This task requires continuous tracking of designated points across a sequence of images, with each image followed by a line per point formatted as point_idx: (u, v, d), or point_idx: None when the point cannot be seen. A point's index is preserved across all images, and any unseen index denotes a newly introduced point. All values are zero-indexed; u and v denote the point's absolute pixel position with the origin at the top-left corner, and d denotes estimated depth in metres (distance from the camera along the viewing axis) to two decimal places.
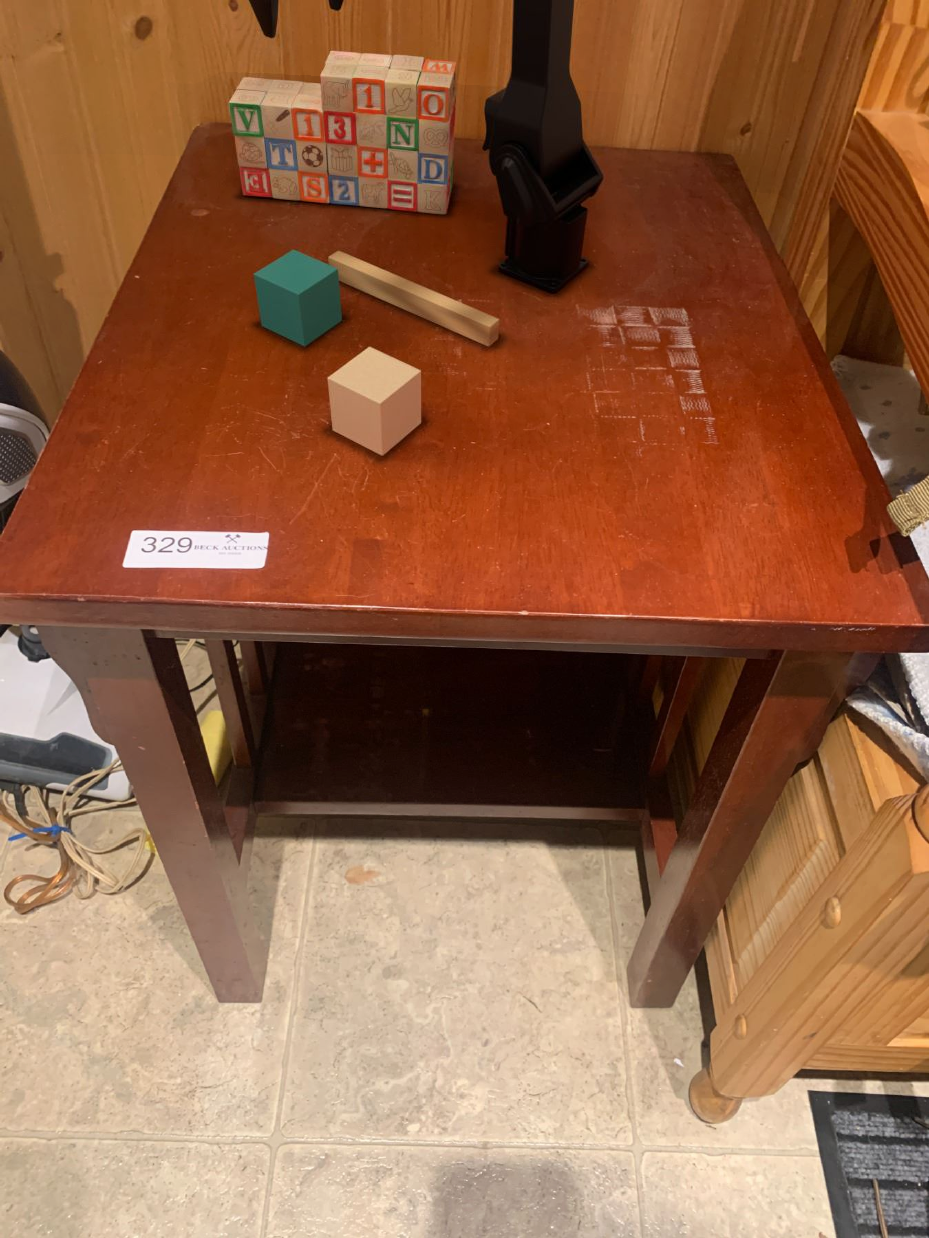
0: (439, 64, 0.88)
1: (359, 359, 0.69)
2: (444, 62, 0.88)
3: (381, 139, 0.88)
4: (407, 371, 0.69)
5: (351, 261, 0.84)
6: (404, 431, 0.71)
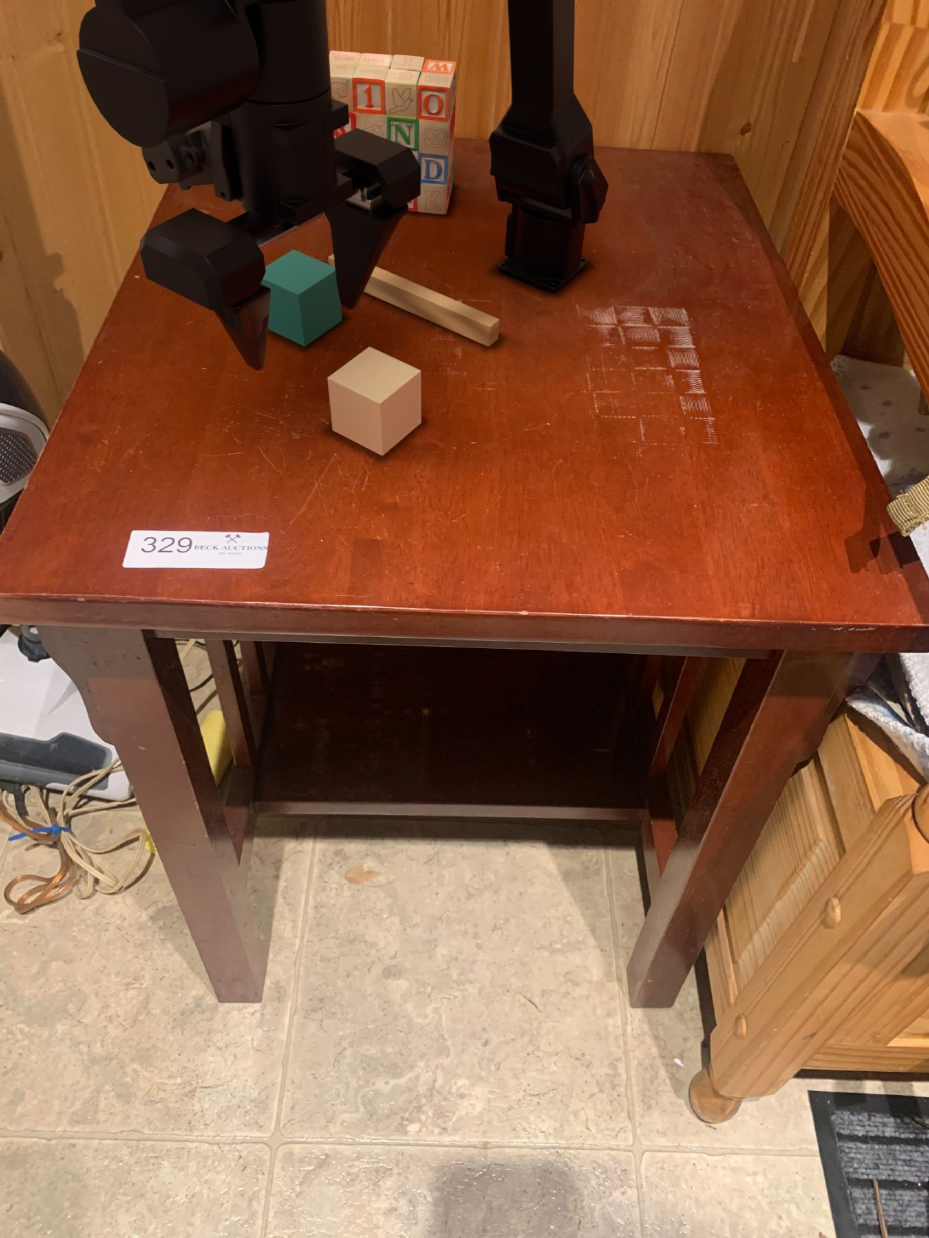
0: (439, 64, 0.88)
1: (359, 359, 0.69)
2: (444, 62, 0.88)
3: None
4: (407, 371, 0.69)
5: None
6: (404, 431, 0.71)
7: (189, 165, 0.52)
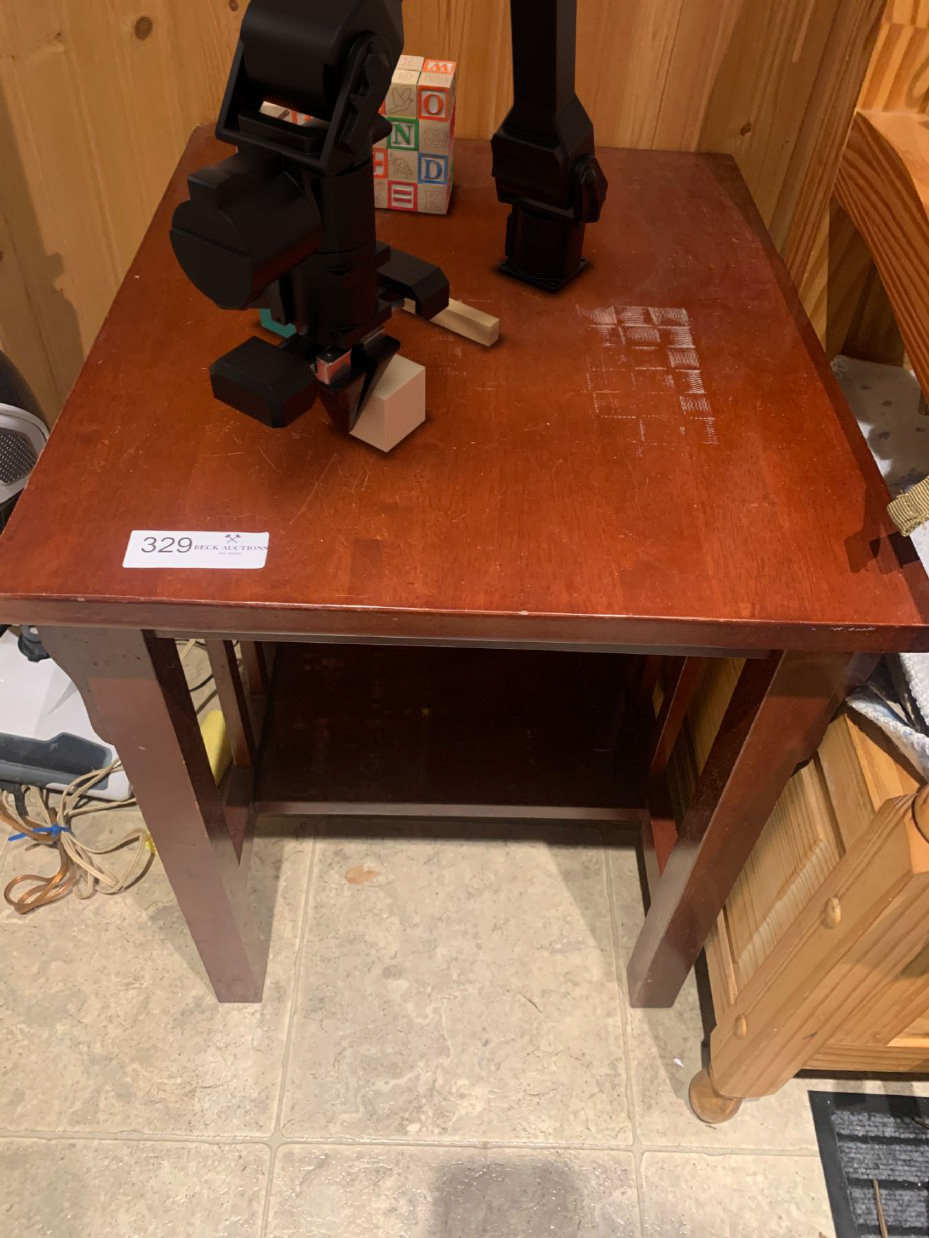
0: (439, 64, 0.88)
1: None
2: (444, 62, 0.88)
3: None
4: (411, 368, 0.69)
5: None
6: (408, 428, 0.71)
7: None
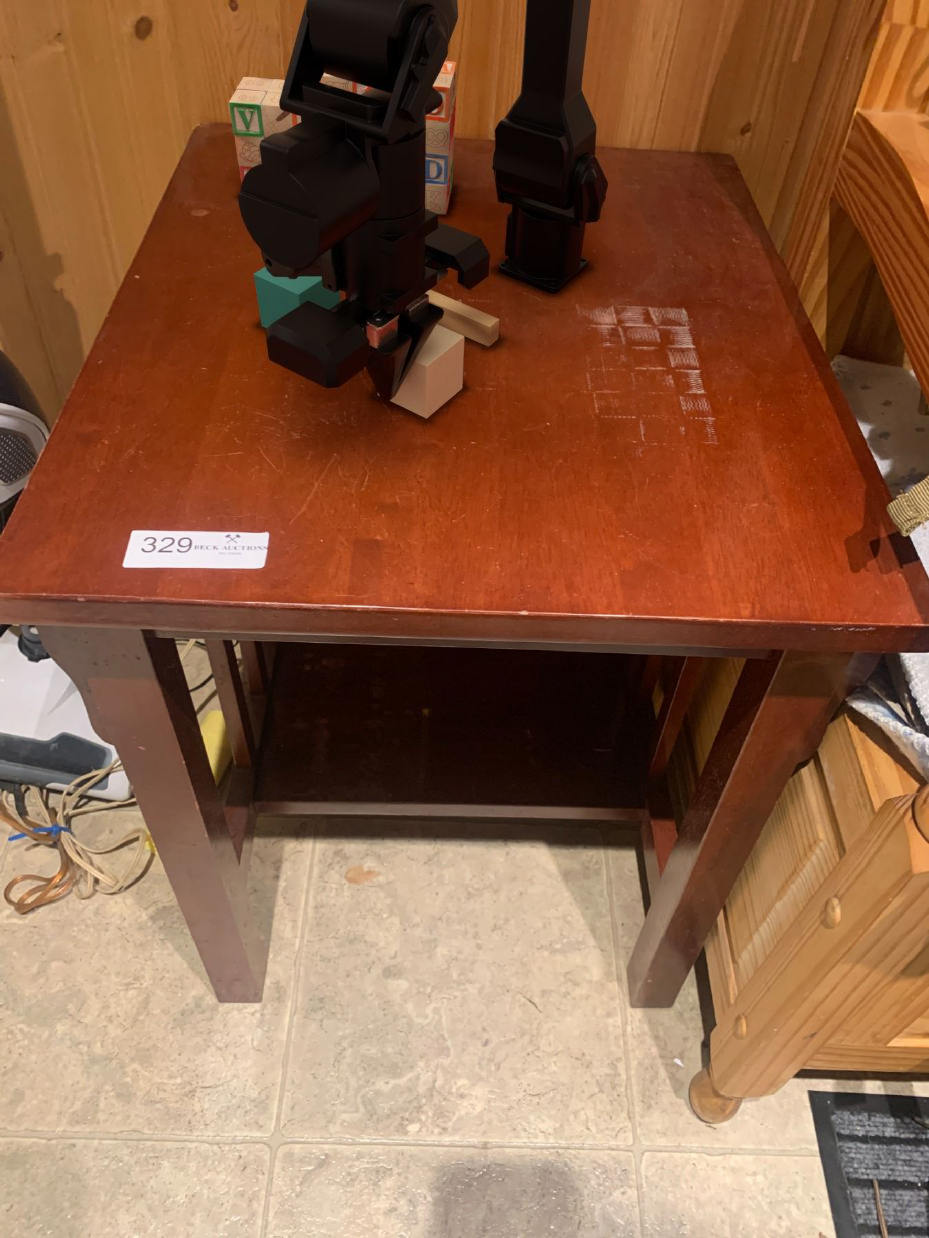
0: None
1: None
2: (444, 62, 0.88)
3: None
4: (451, 336, 0.72)
5: None
6: (447, 395, 0.74)
7: None
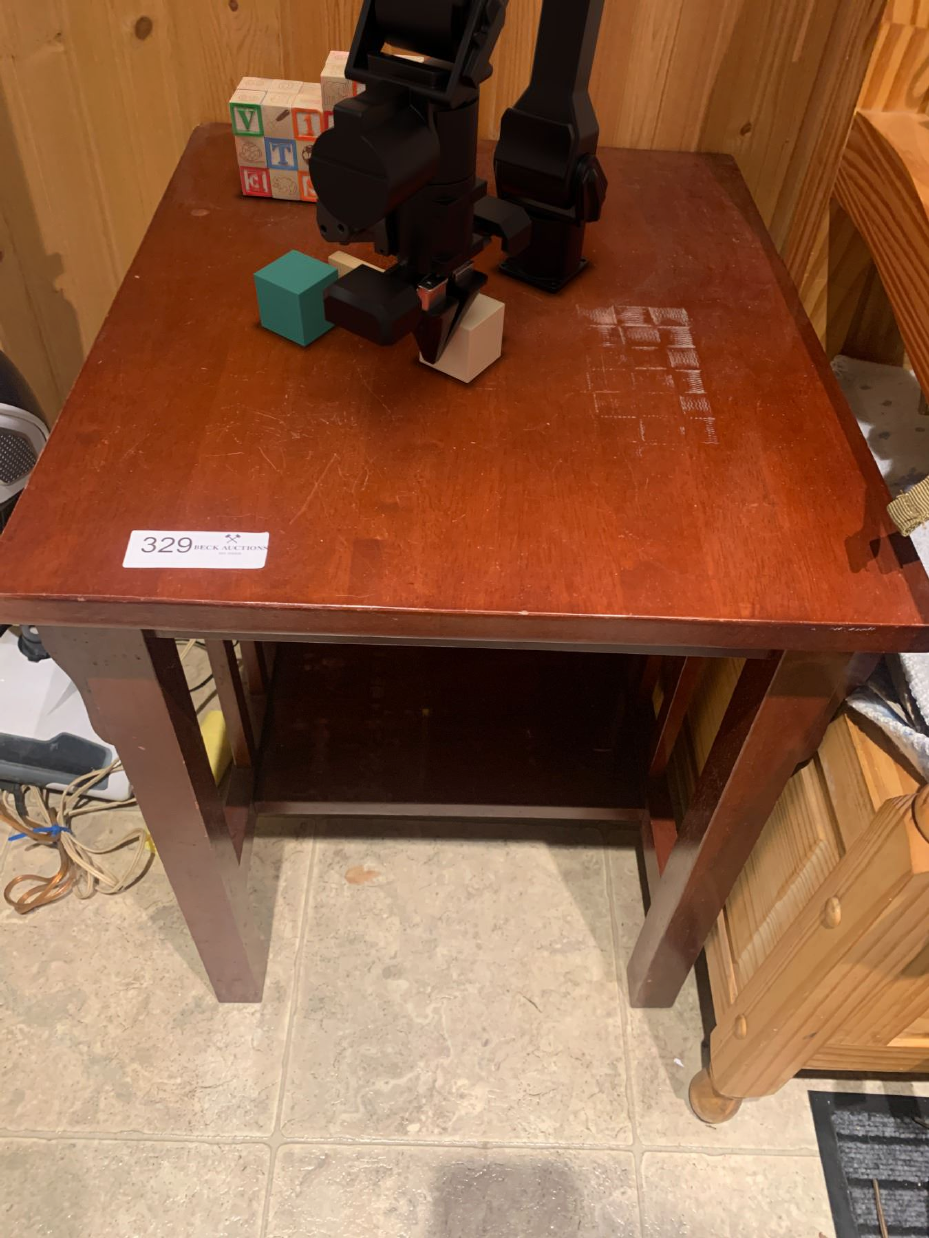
0: None
1: None
2: None
3: None
4: (492, 304, 0.75)
5: (351, 261, 0.84)
6: (486, 361, 0.77)
7: (356, 228, 0.65)
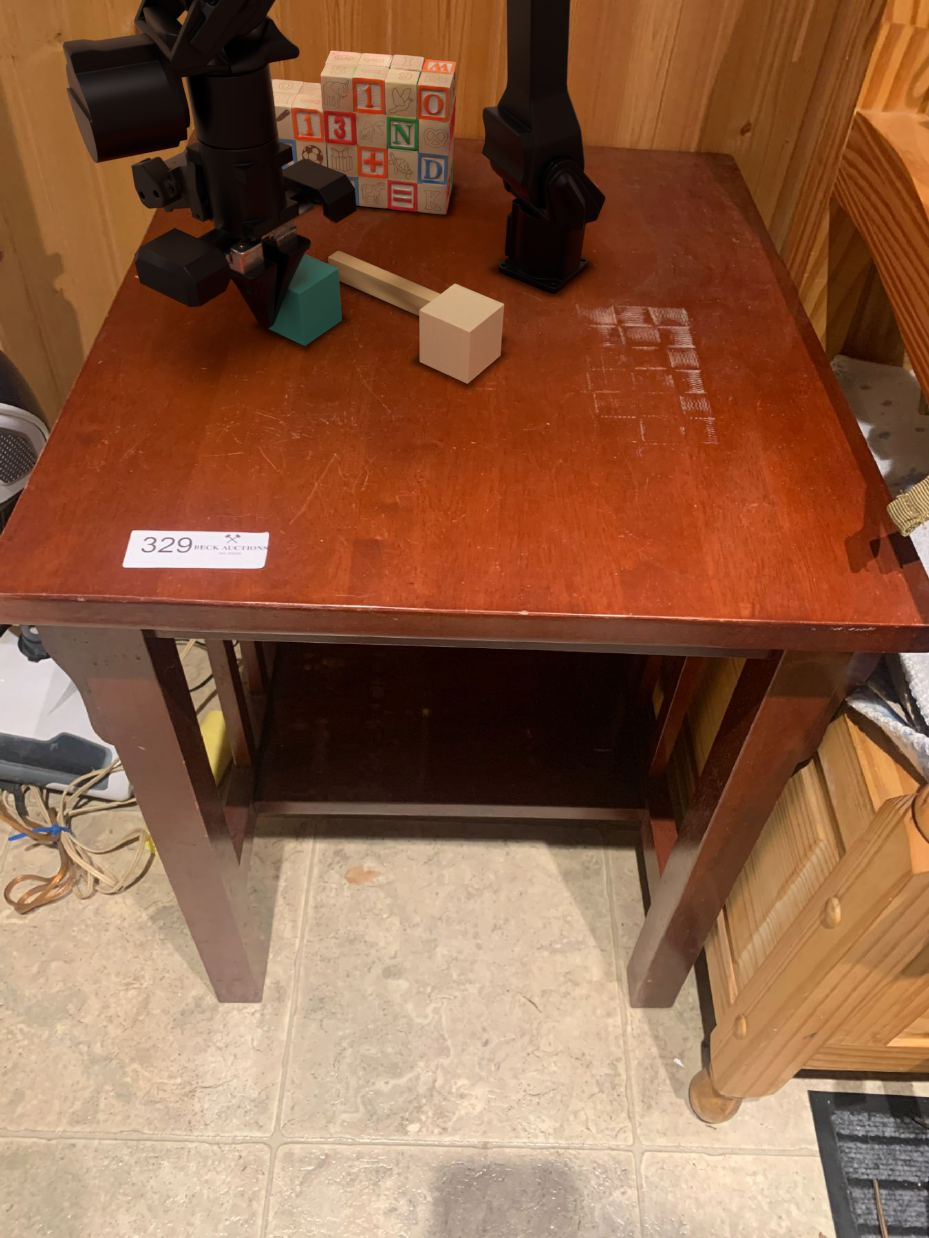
0: (439, 64, 0.88)
1: (446, 294, 0.75)
2: (444, 62, 0.88)
3: (381, 139, 0.88)
4: (492, 304, 0.75)
5: (351, 261, 0.84)
6: (486, 362, 0.77)
7: (171, 194, 0.68)
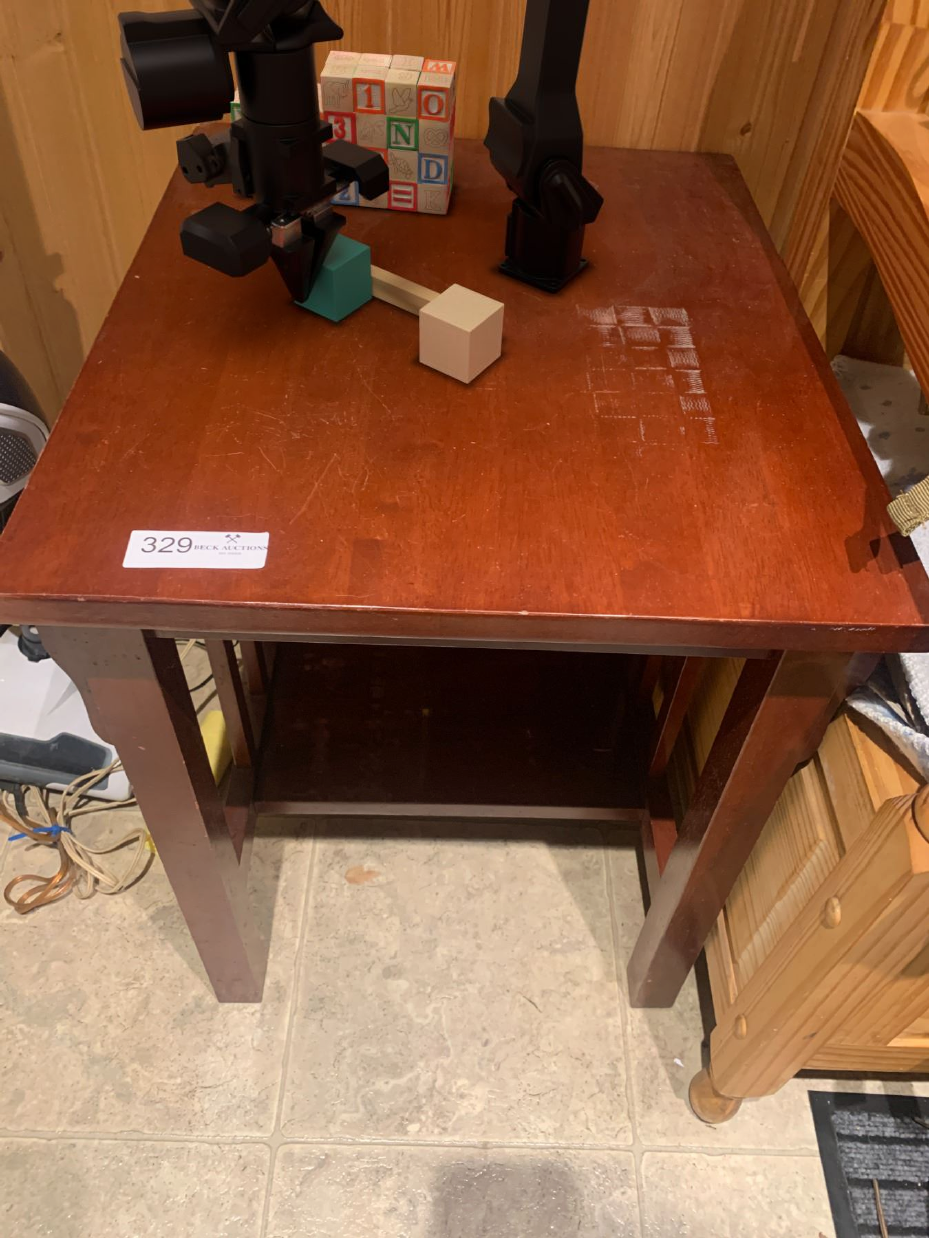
0: (439, 64, 0.88)
1: (446, 294, 0.75)
2: (444, 62, 0.88)
3: (381, 139, 0.88)
4: (492, 304, 0.75)
5: None
6: (486, 362, 0.77)
7: (214, 169, 0.70)
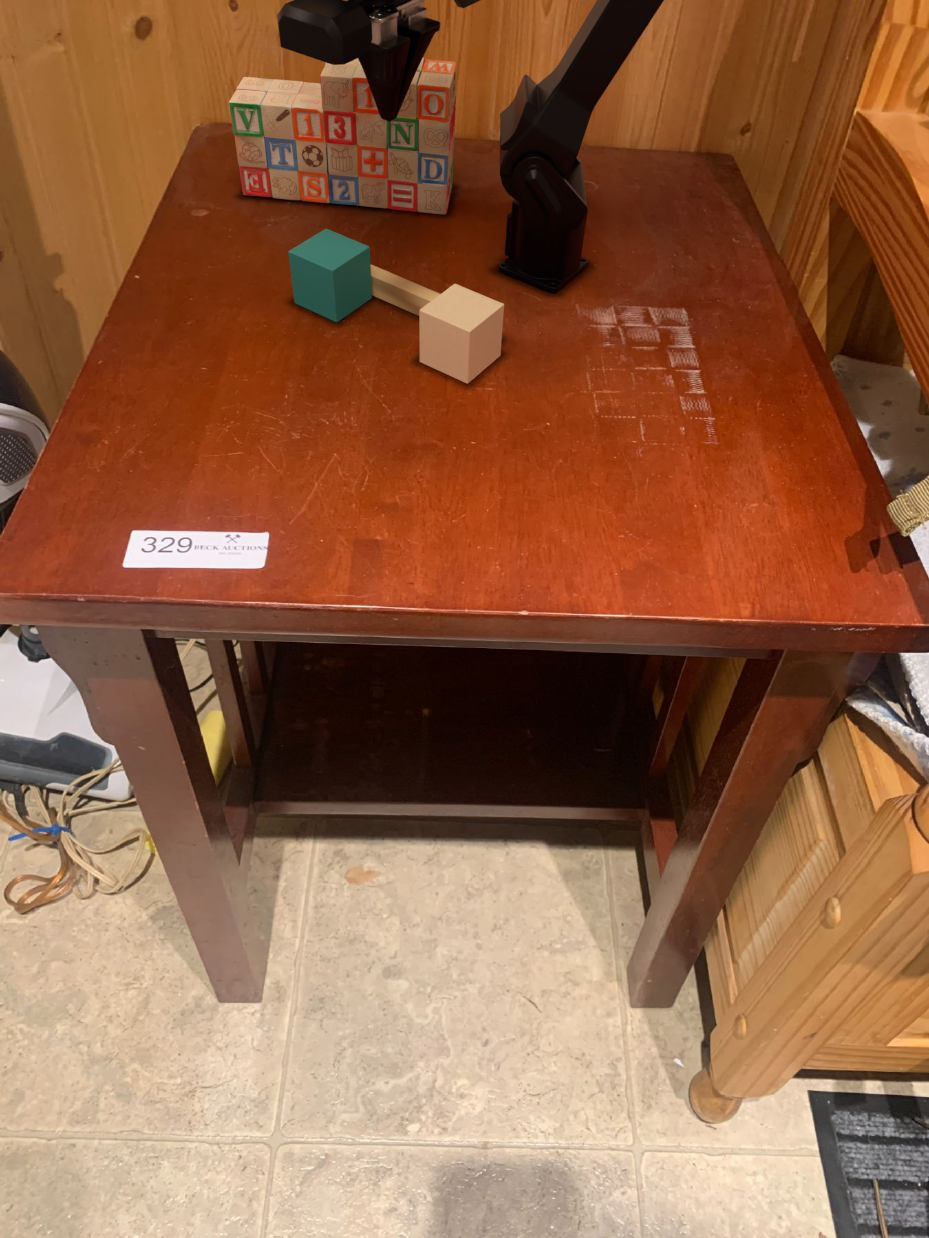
0: (439, 64, 0.88)
1: (446, 294, 0.75)
2: (444, 62, 0.88)
3: (381, 139, 0.88)
4: (492, 304, 0.75)
5: None
6: (486, 362, 0.77)
7: None
